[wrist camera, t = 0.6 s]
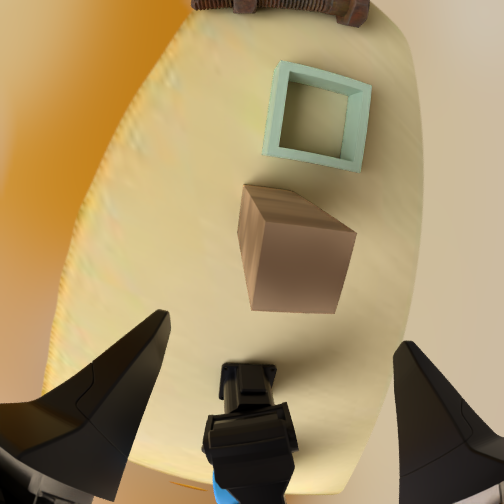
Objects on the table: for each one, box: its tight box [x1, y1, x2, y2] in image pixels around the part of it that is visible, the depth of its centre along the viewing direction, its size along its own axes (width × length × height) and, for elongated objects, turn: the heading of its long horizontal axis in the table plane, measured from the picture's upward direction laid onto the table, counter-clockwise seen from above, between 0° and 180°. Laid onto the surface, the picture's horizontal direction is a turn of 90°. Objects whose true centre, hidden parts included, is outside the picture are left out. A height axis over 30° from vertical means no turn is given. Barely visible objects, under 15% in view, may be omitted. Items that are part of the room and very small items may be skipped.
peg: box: [237, 185, 357, 314], centre depth 19 cm, size 4×4×13 cm
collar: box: [262, 60, 372, 173], centre depth 21 cm, size 8×8×3 cm
